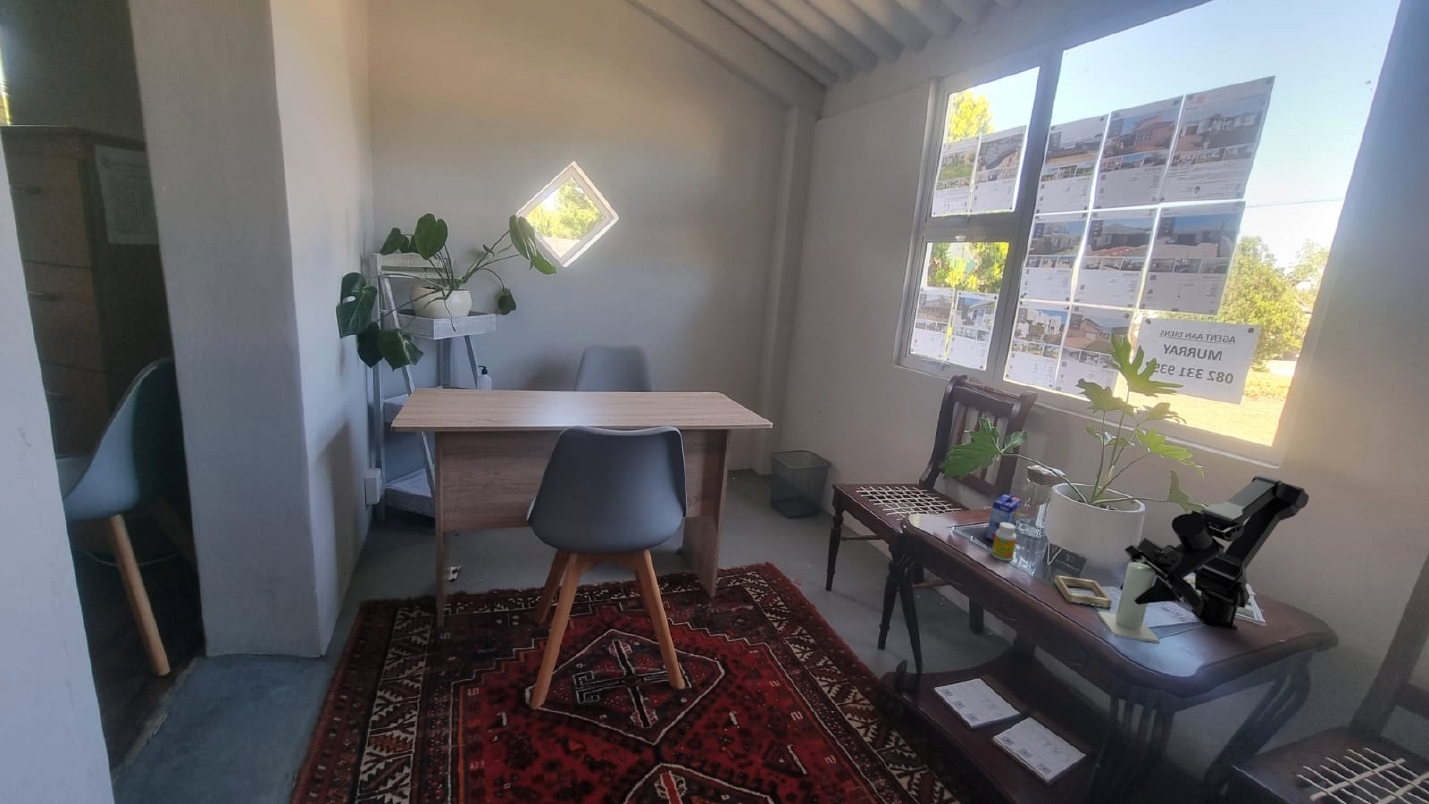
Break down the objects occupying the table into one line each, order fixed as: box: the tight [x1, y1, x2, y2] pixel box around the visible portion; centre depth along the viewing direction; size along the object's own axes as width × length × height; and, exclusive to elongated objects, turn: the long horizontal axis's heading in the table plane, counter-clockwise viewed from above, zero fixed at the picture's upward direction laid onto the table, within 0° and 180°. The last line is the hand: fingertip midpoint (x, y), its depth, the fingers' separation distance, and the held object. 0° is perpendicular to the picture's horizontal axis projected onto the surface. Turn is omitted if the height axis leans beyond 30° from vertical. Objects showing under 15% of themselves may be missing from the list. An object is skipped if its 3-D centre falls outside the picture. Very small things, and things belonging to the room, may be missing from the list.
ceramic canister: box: [1116, 561, 1156, 629], centre depth 133 cm, size 5×5×14 cm
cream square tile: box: [1097, 611, 1160, 644], centre depth 135 cm, size 9×9×1 cm
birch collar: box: [1053, 575, 1113, 609], centre depth 148 cm, size 10×10×2 cm
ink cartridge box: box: [985, 492, 1022, 541], centre depth 178 cm, size 10×6×14 cm, turn 136°
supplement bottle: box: [991, 522, 1017, 562], centre depth 165 cm, size 5×5×10 cm
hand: (1128, 596), depth 133 cm, fingers closed on ceramic canister, 5 cm apart
